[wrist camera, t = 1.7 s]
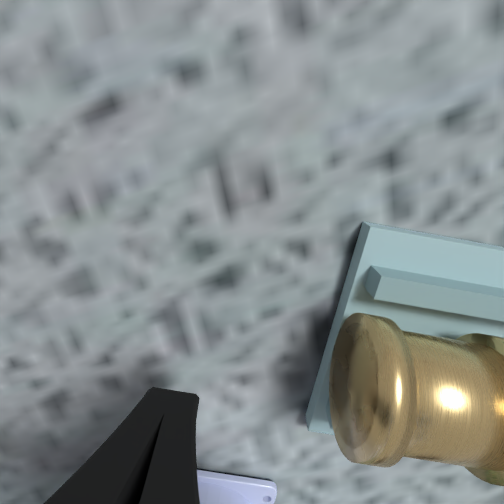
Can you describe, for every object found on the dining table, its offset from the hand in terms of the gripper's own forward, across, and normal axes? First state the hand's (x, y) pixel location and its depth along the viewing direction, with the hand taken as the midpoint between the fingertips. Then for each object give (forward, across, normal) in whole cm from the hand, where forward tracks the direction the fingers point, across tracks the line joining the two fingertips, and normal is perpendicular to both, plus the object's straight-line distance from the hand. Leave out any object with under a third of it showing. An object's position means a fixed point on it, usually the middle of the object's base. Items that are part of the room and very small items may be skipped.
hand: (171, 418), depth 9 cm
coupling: (+6, -9, 0) cm, 11 cm away
